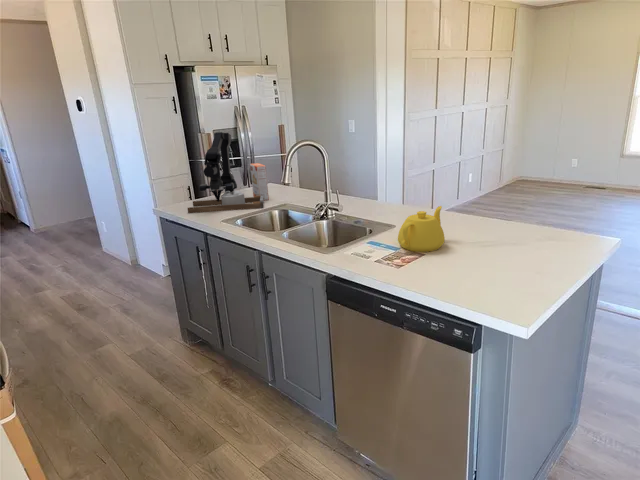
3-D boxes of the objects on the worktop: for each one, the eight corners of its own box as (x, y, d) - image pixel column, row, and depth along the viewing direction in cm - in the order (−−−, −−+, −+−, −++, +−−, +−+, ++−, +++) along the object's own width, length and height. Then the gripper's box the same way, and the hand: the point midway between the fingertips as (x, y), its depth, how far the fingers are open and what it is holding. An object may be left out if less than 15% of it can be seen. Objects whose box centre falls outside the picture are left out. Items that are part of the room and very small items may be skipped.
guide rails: (193, 206, 252) (192, 199, 250) (263, 201, 255) (263, 194, 254) (188, 213, 236) (187, 206, 235) (263, 208, 239) (262, 201, 238)
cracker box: (252, 197, 268) (249, 163, 261) (262, 196, 270) (259, 162, 263) (259, 201, 255) (256, 166, 249) (269, 200, 258) (266, 165, 251)
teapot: (422, 233, 183) (423, 202, 179) (459, 241, 171) (461, 208, 166) (384, 248, 168) (384, 214, 163) (422, 258, 155) (423, 222, 151)
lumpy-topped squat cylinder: (247, 205, 247) (246, 190, 244) (229, 210, 238) (227, 195, 235) (236, 203, 254) (234, 188, 251) (218, 208, 244) (216, 193, 242)
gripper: (195, 177, 231) (199, 205, 236) (230, 175, 232) (233, 203, 237) (199, 174, 241) (202, 201, 246) (232, 172, 243) (235, 199, 248)
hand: (218, 201), depth 244 cm, fingers closed
